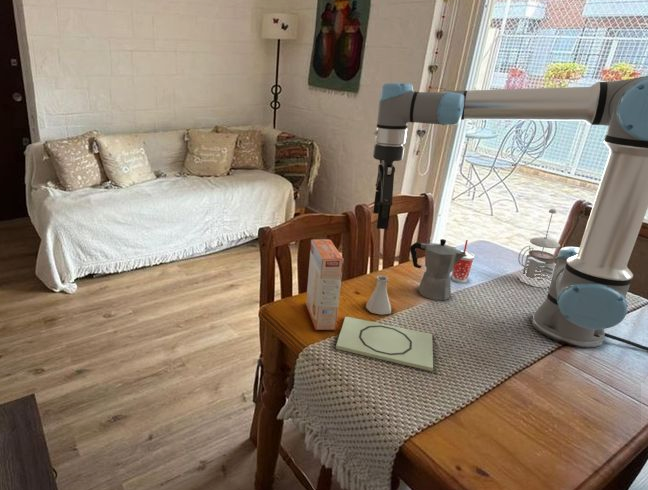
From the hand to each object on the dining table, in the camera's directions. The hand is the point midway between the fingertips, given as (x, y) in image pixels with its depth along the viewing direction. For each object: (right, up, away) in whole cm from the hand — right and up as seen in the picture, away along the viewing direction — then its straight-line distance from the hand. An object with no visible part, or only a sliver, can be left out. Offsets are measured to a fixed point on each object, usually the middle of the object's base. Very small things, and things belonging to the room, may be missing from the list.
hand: (379, 220), depth 122 cm
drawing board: (-3, -31, -11) cm, 33 cm away
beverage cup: (+35, -20, +23) cm, 46 cm away
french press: (+58, -20, +22) cm, 66 cm away
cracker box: (-16, -27, 0) cm, 32 cm away
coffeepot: (+21, -23, +15) cm, 34 cm away
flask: (+1, -26, +5) cm, 26 cm away
